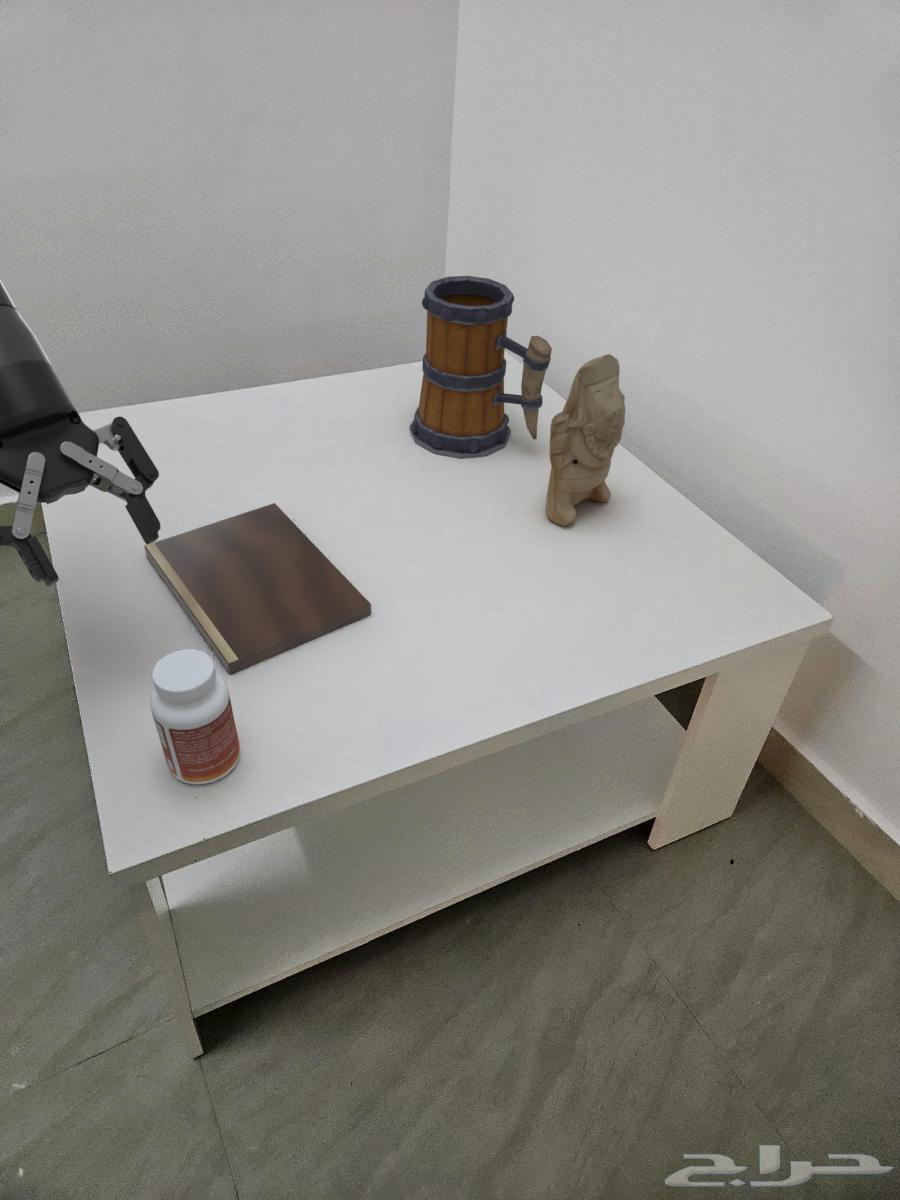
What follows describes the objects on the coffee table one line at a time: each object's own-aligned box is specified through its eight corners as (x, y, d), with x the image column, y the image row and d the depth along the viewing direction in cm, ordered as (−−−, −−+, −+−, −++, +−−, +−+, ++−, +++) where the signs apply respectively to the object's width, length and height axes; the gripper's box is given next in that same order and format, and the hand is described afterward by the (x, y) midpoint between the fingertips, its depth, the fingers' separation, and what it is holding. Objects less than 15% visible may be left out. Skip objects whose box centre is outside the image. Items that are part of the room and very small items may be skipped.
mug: (558, 435, 117) (579, 295, 104) (513, 481, 107) (530, 333, 94) (441, 398, 123) (448, 263, 110) (389, 438, 114) (389, 295, 101)
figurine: (561, 541, 97) (588, 386, 84) (519, 513, 102) (538, 360, 88) (630, 504, 104) (665, 356, 91) (588, 479, 108) (615, 333, 95)
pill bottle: (255, 745, 72) (240, 656, 65) (213, 797, 68) (192, 709, 61) (196, 721, 74) (175, 632, 67) (152, 771, 70) (124, 682, 62)
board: (229, 675, 79) (227, 663, 77) (146, 556, 92) (143, 544, 91) (371, 614, 86) (371, 603, 85) (275, 512, 99) (274, 501, 98)
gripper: (-95, 387, 58) (21, 589, 59) (97, 336, 66) (195, 516, 67) (-92, 425, 64) (13, 607, 66) (83, 374, 72) (173, 538, 74)
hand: (105, 561), depth 66 cm, fingers open, 8 cm apart
